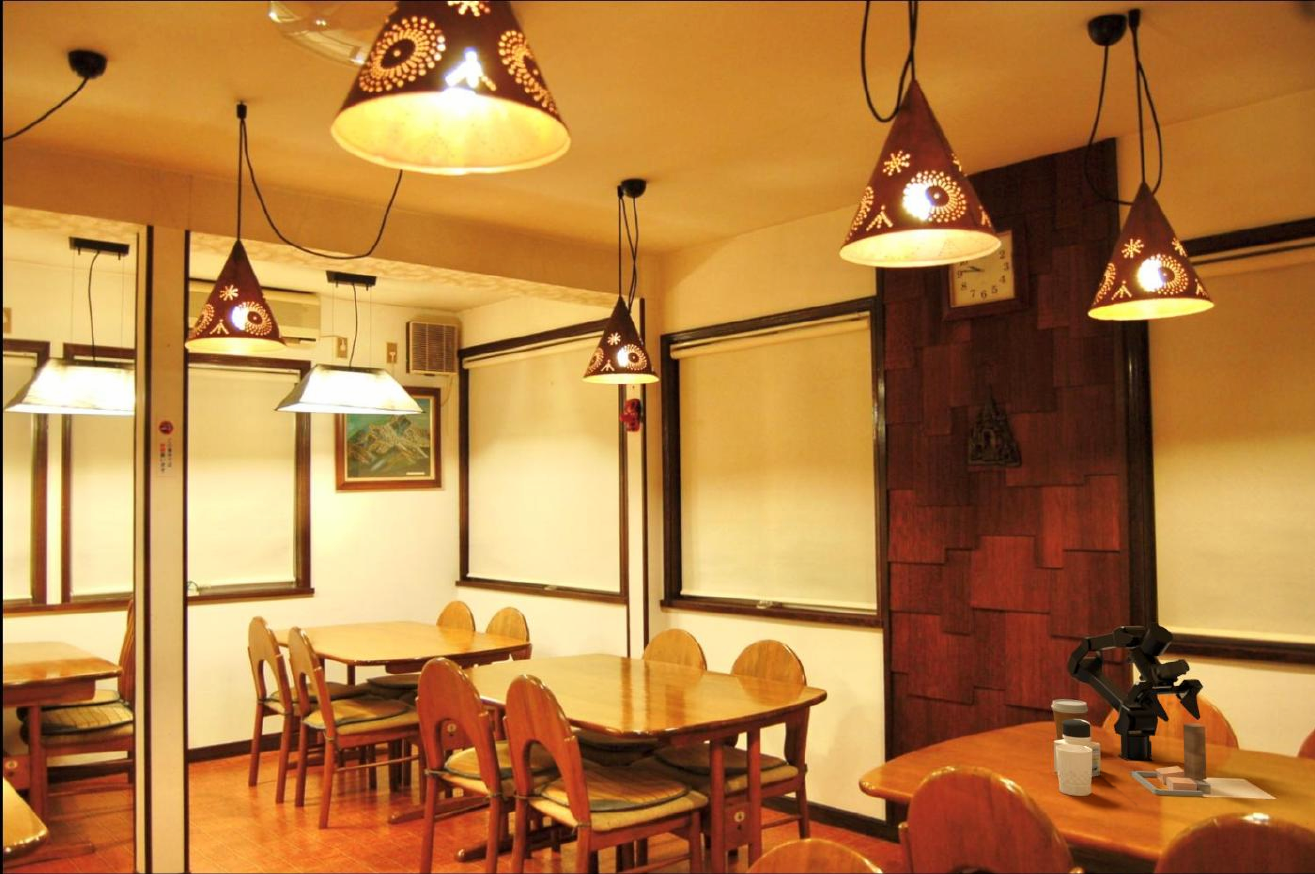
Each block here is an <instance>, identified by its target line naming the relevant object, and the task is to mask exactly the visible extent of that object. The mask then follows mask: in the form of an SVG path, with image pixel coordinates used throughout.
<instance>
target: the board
mask: <svg viewBox="0 0 1315 874" xmlns="http://www.w3.org/2000/svg"><path fill="white" fill-rule="evenodd" d="M1203 780H1204V781H1206V782H1207V783H1208V784H1210V787H1211V794H1203V798H1205V797H1207V798H1234V799H1259V800H1263V799H1264V800H1277V798H1276V797H1274V796H1272V795H1271V794H1269V793H1267V792H1266V791H1264V790H1263V789H1261V788H1259V787H1258V786H1256V785H1254V784H1253V783H1252V782H1249V781H1248V780H1246V779H1244V778H1231V777H1230V778H1228V777H1227V778H1225V777H1207V779H1203Z"/></svg>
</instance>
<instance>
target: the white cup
mask: <svg viewBox="0 0 1315 874" xmlns="http://www.w3.org/2000/svg"><path fill="white" fill-rule="evenodd" d="M1056 757H1057V772H1058V773H1057V772H1056V773H1057V779H1058V784H1059V785H1058V787H1059V792H1060V793H1062V794H1064V795H1068V796H1074V797H1087V796H1089V795H1091V792H1092V788H1091V786H1092V784H1091V783H1092V749H1091V748H1089V747H1085V746H1080V745H1070V744H1064V745H1058V746H1056Z"/></svg>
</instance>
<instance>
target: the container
mask: <svg viewBox="0 0 1315 874" xmlns="http://www.w3.org/2000/svg"><path fill="white" fill-rule="evenodd" d="M1091 727H1092V725H1091V723H1090V722H1089V721H1087V720H1086V721H1085V720H1080V719H1067V720H1065V721H1063V722H1062V733H1063V738H1064V739H1063V740H1054V741H1053V757H1054V759H1053V760H1054V762H1053V763H1054V772H1055V773H1056V774H1058V772H1057V757H1056V746H1058V745H1064V744H1070V745H1080V746H1085V747H1089V748H1091V749H1092V777H1098V776H1101V773H1102V772H1101V767H1102V766H1101V744H1100V743H1098V742H1094V741H1092V728H1091Z"/></svg>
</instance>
